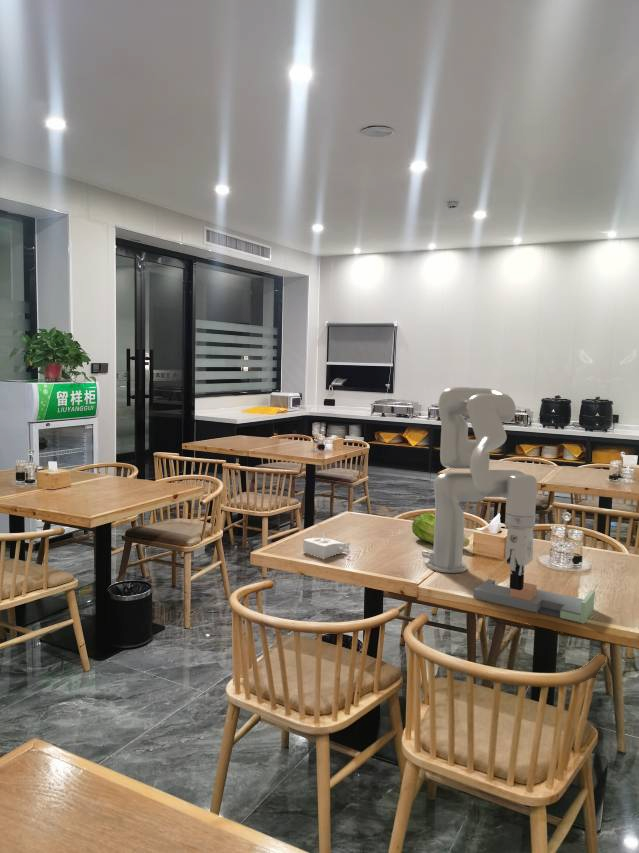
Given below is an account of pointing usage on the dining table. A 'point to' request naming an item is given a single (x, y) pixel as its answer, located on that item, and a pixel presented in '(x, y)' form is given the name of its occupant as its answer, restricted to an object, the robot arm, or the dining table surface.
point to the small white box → (324, 547)
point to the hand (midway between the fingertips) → (516, 588)
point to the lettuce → (428, 528)
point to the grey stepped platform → (539, 602)
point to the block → (525, 592)
